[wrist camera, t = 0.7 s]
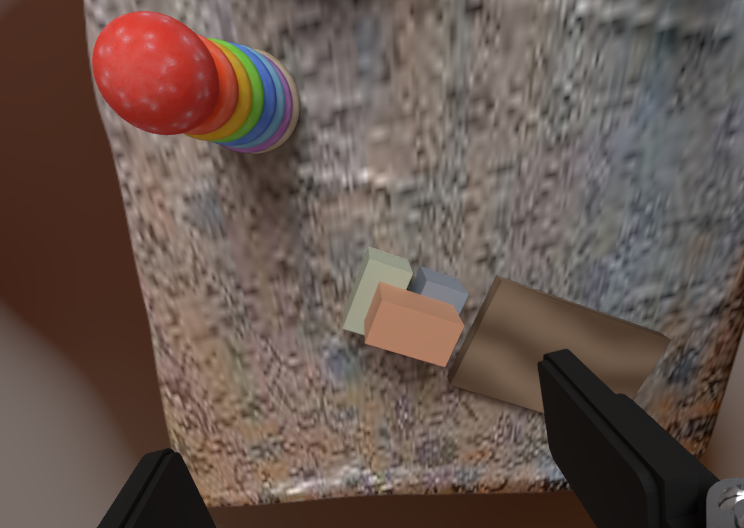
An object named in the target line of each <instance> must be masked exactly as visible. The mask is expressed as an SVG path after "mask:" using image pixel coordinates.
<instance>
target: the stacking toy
mask: <svg viewBox="0 0 744 528" xmlns="http://www.w3.org/2000/svg"><path fill="white" fill-rule="evenodd" d="M92 66H93V73H94V77H95V81H96V83H97V86H98V88H99V90H100V92H101V94H102V96H103V98H104V99H105V101H106V102H107V103H108V105H109V106H110V107H111V108H112V109H113V110H114V111H115V112H116V113H117V114H118V115H119V116H120V117H121V118H123V119H124V120H125V121H127V122H128V123H130V124H131V125H133V126H135V127H137V128H139V129H142V130H144V131H147V132H150V133H154V134H160V135H175V134H181V133H184V134H185V135H187V136H190V137H192V138H195V139H199V140H206V141H211V142H214V143H216V144H220V145H222V146H223V147H225V148H228V149H230V150H233V151H236V152H242V153H250V154H260V153H265V152H268V151H271V150H273V149H276V148H277V147H279V146H280V145H282V144H283V143H284V142H285V141H286V140H287V139H288V138H289V137H290V135H291V134H292V132H293V131H294V129H295V127H296V124H297V121H298V117H299V110H300V101H299V94H298V90H297V87H296V84H295V82H294V80H293V78H292V76H291V74H290V73H289V71H288V70H287V69H286V67H285V66H284V65H283V64H282V63H281V62H280V61H279V60H277V59H276V58H275V57H273V56H272V55H270V54H269V53H267V52H264V51H262V50H259V49H255V48H249V47H247V46H244V45H240V44H235V43H231V42H225V41H222V40H218V39H210V38H205V37H203V36H201V35H198V34H196V33H194V32H193V31H192V30H191V29H190V28H188V27H187V26H186V25H184V24H183V23H181V22H179V21H178V20H176V19H174V18H172V17H169V16H167V15H164V14H160V13H156V12H149V11H138V12H132V13H128V14H124V15H121V16H119V17H117V18H115V19H114V20H113V21H111V22H110V23H109V24H108V25H107V26H106V27H105V28H104V29H103V30H102V32H101V33H100V35H99V36H98V38H97V41H96V43H95V46H94V51H93V57H92Z"/></svg>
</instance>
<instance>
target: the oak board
mask: <svg viewBox="0 0 744 528" xmlns="http://www.w3.org/2000/svg"><path fill="white" fill-rule="evenodd" d="M670 341H671V340H670V339H669V338H667V337H666V336H664V335H663V334H661V333H659V332H656V331H653V330H650V329H648V328H645V327H642V326H639V325H636V324H633V323H630V322H628V321H625V320H622V319H619V318H616V317H613V316H610V315H608V314H605V313H602V312H599V311H596V310H593V309H590V308H588V307H585V306H582V305H579V304H576V303H573V302H570V301H568V300H565V299H562V298H559V297H556V296H553V295H550V294H548V293H545V292H542V291H539V290H536V289H533V288H530V287H528V286H525V285H522V284H519V283H516V282H513V281H510V280H508V279H505V278H502V277H499V276H496V278H495V280H494V282H493V284H492V286H491V288H490V290H489V292H488V294H487V296H486V298H485V300H484V302H483V304H482V306H481V308H480V310H479V313H478V315H477V317H476V319H475V321H474V323H473V325H472V327H471V329H470V331H469V333H468V335H467V337H466V339H465V341H464V343H463V345H462V347H461V349H460V351H459V353H458V356H457V358H456V360H455V362H454V364H453V366H452V368H451V370H450V372H449V374H448V376H447V377H448V380H449V382H450V385H452V386H456V387H459V388H462V389H466V390H469V391H472V392H476V393H479V394H482V395H486V396H489V397H492V398H495V399H499V400H502V401H505V402H509V403H512V404H515V405H519V406H522V407H525V408H528V409H532V410H535V411H538V412H542V413H544V409H543V402H542V395H541V388H540V381H539V374H538V366H537V364H538V362H539V361H543V355H544V354H546V353H550V352H554V351H558V350H562V349H568V350H570V351H571V352H572V353H573V354H574V355H575V356H576V357H577V358H578V359H579V360H580V361H582V362H583V363H584V364H585V365H586V366H587V367H588V368H589V369H590V370H591V371H592V372H593V373H594V374H595V375H596V376H597V377H598V378H599V379H600V380H601V381H603V382H604V383H605V384H606V385H607V386H608V387H609V388H610V389H611V390H612V391H613V392H614V393H615V394H619V393H622V394H625V395H627V396H628V397H629V398H631V399H633V397H634V396H635V394H636V393H637V391H638V390H639V388H640V387H641V385H642V384H643V382H644V381H645V379H646V378H647V376H648V375H649V373H650V372H651V370H652V369H653V367H654V366H655V364H656V362H657V361H658V359H659V358H660V356H661V355H662V353H663V352H664V350H665V349H666V347H667V346H668V344H669V343H670Z"/></svg>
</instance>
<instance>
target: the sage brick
mask: <svg viewBox="0 0 744 528" xmlns="http://www.w3.org/2000/svg"><path fill="white" fill-rule="evenodd" d="M412 275H413V272H412V270H411V267H410V264H409V262H408V260H407V259H404V258H401V257H398V256H395V255H392V254H389V253H386V252H384V251H381V250H378V249H375V248H372V247H369V246H368V249H367V251H366V254H365V256H364V259H363V262H362V264H361V267H360V270H359V272H358V275H357V277H356V280H355V283H354V285H353V288H352V291H351V293H350V296H349V298H348V301H347V304H346V306H345V309H344V316H343V329H346V330H349V331H352V332H355V333H358V334H362V335H365V332H364V320H365V317H366V315H367V312H368V310H369V307H370V304H371V302H372V299H373V296H374V294H375V291H376V289H377V286H378V283H379V282H382V283H386V284H389V285H392V286H395V287H398V288H401V289H404V290H406V289H407V286H408V284H409V282H410V279H411V277H412Z"/></svg>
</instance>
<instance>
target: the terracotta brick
mask: <svg viewBox="0 0 744 528" xmlns="http://www.w3.org/2000/svg"><path fill="white" fill-rule="evenodd" d="M463 328H464V324H463V322H462V320H461V319H460V317H459V315H458V313H457V311H456V309H455V307H454V306H453V305H452V304H448V303H445V302H442V301H439V300H436V299H433V298H430V297H426V296H423V295H420V294H417V293H414V292H411V291H408V290H404V289H401V288H398V287H395V286H392V285H389V284H386V283H382V282H379V283H378V286H377V289H376V291H375V294H374V296H373V299H372V302H371V304H370V307H369V310H368V312H367V315H366V317H365V320H364V332H365V344H368V345H372V346H375V347H378V348H382V349H385V350H388V351H392V352H395V353H399V354H402V355H405V356H409V357H412V358H416V359H419V360H422V361H426V362H429V363H433V364H436V365H439V366H443V367H445V366H446V364H447V362H448V360H449V358H450V356H451V353H452V351H453V349H454V347H455V345H456V343H457V341H458V338H459V336H460V334H461V332H462V330H463Z"/></svg>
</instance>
